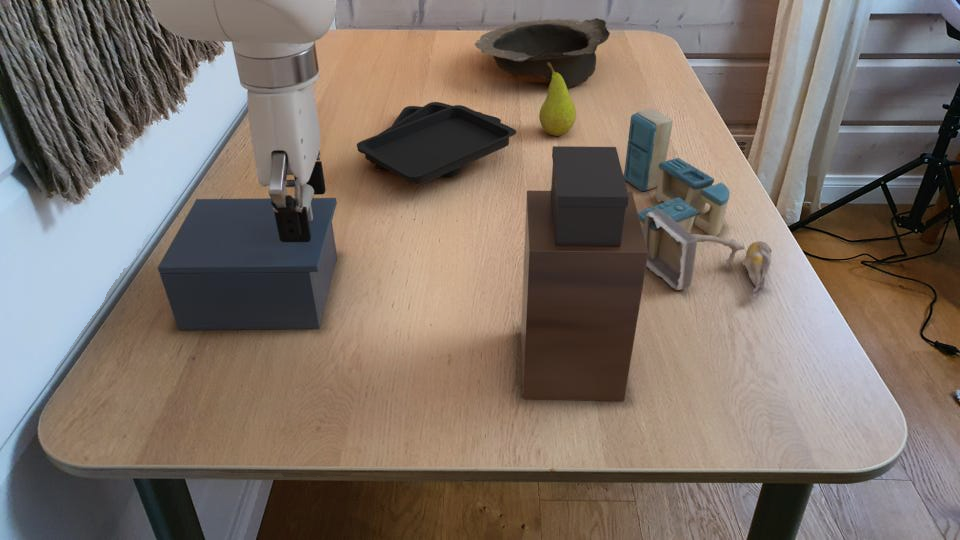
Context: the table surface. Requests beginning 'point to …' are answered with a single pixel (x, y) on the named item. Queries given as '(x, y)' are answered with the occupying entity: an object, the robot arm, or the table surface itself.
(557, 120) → the fruit
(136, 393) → the table surface
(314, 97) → the robot arm
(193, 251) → the box lid
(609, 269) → the stand
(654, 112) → the toy kitchen set
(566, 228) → the dark grey rectangular block
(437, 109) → the tray
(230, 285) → the storage box
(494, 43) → the stone bowl
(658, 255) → the decorative sculpture
